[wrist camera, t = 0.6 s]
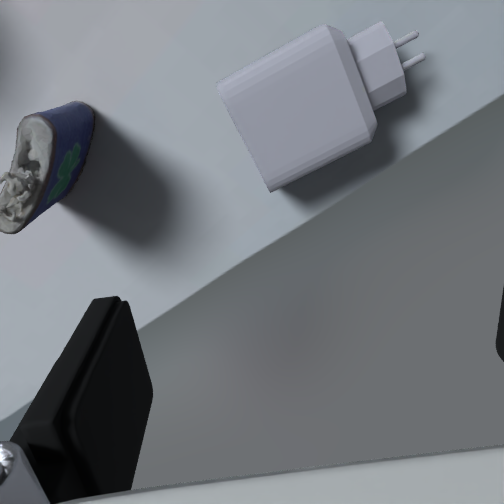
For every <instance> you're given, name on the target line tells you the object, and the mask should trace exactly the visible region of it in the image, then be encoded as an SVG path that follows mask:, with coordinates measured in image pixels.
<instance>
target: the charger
mask: <svg viewBox="0 0 504 504" xmlns="http://www.w3.org/2000/svg"><path fill="white" fill-rule="evenodd" d="M418 35H419V33H418V31H416V30H415V31H413V32H411V33H409V34H407V35H405V36H404V37H402V38H400V39H398V40H396V41H394V42H393V40H392V38H391V36H390V34H389V32H388V30H387V28H386V26H385V25H384V23H383V22H382V21H380V22H378V23H376V24H374V25H373V26H371V27H369V28H367V29H365V30H363V31H362V32H360V33H358V34H356V35H354V36H353V37H351V38H349V39H347V40H346V37H345V35H344V33H343V31H341V30H338V29H336V28H333V27H331V26H328V25H326V24H323V25H320V26H317V27H315V28H313V29H311V30H310V31H308V32H306V33H304V34H302V35H301V36H299V37H297V38H295V39H294V40H292V41H290V42H288V43H286V44H285V45H283V46H281V47H279V48H278V49H276V50H274V51H272V52H270V53H269V54H267V55H265V56H263V57H262V58H260V59H258V60H256V61H254V62H253V63H251V64H249V65H247V66H245V67H244V68H242V69H240V70H238V71H237V72H235V73H233V74H231V75H229V76H228V77H226V78H224V79H222V80H221V81H219V82H217V83H216V88H217V90H218V92H219V94H220V96H221V98H222V100H223V102H224V104H225V106H226V108H227V110H228V112H229V114H230V116H231V118H232V120H233V122H234V124H235V126H236V128H237V130H238V132H239V134H240V135H241V137H242V139H243V141H244V143H245V145H246V147H247V149H248V151H249V153H250V155H251V157H252V159H253V161H254V163H255V165H256V167H257V169H258V170H259V172H260V174H261V176H262V178H263V180H264V182H265V184H266V186H267V188H268V189H269V191H270V193H271V192H273V191H275V190H277V189H279V188H281V187H283V186H285V185H287V184H289V183H291V182H293V181H295V180H297V179H299V178H301V177H303V176H305V175H307V174H309V173H311V172H313V171H315V170H317V169H319V168H321V167H323V166H325V165H327V164H329V163H331V162H333V161H335V160H337V159H339V158H341V157H343V156H345V155H347V154H349V153H351V152H353V151H355V150H357V149H359V148H361V147H363V146H365V145H367V144H369V143H371V141H372V138H373V136H374V133H375V131H376V128H377V126H378V124H377V120H376V117H375V115H374V112H373V111H374V110H376V109H378V108H380V107H382V106H384V105H386V104H388V103H390V102H392V101H394V100H396V99H398V98H400V97H402V96H404V95H405V94H406V91H407V90H406V83H405V76H404V72H403V71H404V70H406V69H408V68H410V67H412V66H414V65H415V64H417V63H419V62H421V61H423V60H425V54H424V53H421V54H419V55H417V56H416V57H414V58H412V59H410V60H408V61H406V62H404V63H402V64H401V63H400V60H399V57H398V54H397V51H396V49H397V48H398V47H400V46H402V45H404V44H406V43H408V42H410V41H412V40H413V39H415V38H417V37H418Z"/></svg>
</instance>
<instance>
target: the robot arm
mask: <svg viewBox="0 0 504 504" xmlns="http://www.w3.org/2000/svg"><path fill="white" fill-rule="evenodd" d="M496 350H497V353H498V355H499V356H500V358H501V359H502V360H503V361H504V288H503V295H502V302H501V309H500V316H499V323H498V330H497V338H496ZM152 398H153V388H152V383H151V379H150V376H149V372H148V369H147V365H146V362H145V358H144V355H143V351H142V348H141V344H140V341H139V337H138V334H137V330H136V327H135V323H134V320H133V316H132V313H131V309H130V306H129V303H128V302H127V301H121V299H120V298H119V297H118V296H113V297H105V298H97V299H94V300H93V301H92V302H91V304H90V306H89V307H88V309H87V311H86V312H85V314H84V316H83V318H82V319H81V321H80V323H79V324H78V326H77V328H76V330H75V331H74V333H73V335H72V336H71V338H70V340H69V342H68V343H67V345H66V347H65V348H64V350H63V352H62V354H61V355H60V357H59V358H58V360H57V361H56V362H55V364H54V366H53V367H52V369H51V371H50V373H49V374H48V376H47V378H46V379H45V381H44V383H43V384H42V386H41V388H40V390H39V391H38V393H37V395H36V396H35V398H34V400H33V402H32V403H31V405H30V407H29V408H28V410H27V412H26V413H25V415H24V417H23V419H22V420H21V422H20V424H19V426H18V427H17V429H16V431H15V432H14V434H13V436H12V437H11V439H10V441H0V504H504V444H503V445H494V446H485V447H476V448H468V449H459V450H451V451H442V452H433V453H426V454H416V455H408V456H399V457H391V458H382V459H374V460H366V461H357V462H349V463H340V464H332V465H323V466H315V467H307V468H299V469H292V470H283V471H276V472H268V473H259V474H250V475H242V476H234V477H226V478H218V479H211V480H202V481H194V482H187V483H178V484H171V485H163V486H155V487H147V488H141V489H134V490H131V487H132V483H133V478H134V474H135V470H136V466H137V462H138V458H139V454H140V450H141V445H142V441H143V437H144V433H145V429H146V425H147V420H148V416H149V412H150V408H151V404H152Z"/></svg>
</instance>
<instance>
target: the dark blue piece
mask: <svg viewBox="0 0 504 504" xmlns="http://www.w3.org/2000/svg"><path fill="white" fill-rule="evenodd" d="M94 125H95V116H94V112H93V111H92V109H91V108H90V107H89V106H88V105H86V104H85V103H83V102H80V101H74V102H70V103H68V104H65V105H63V106H60V107H57V108H54V109H50V110H47V111H44V112H37V113H34V114H31V115H28V116H25V117H24V118H23V119H22V121H21V122H20V124H19V126H18V128H17V140H16V149H15V154H14V157H13V161H12V164H11V168H10V172H5V173H4V174H3V175H2V177H1V178H0V184H1V183H2V182H3V181H4V180H5V181H6V183H5V185H4V187H3V189H2V192H1V194H0V232H3V233H6V234H16V233H18V232H19V231H21V230H22V229H23V228H25V227H26V226H27V225H28V224H29V223H31V222H32V221H33V220H35V219H36V218H37V217H38V216H39V215H40V214H42V213H43V212H45V211H46V210H47V209H49V208H50V207H51V206H52V205H54V204H55V203H56V202H58V201H59V200H61V199H63V198H64V197H65V196H67V194H68V193H69V192H70V191H71V190H72V188H73V187H74V185H75V183H76V182H77V181H78V177H79V176H80V175H81V173H82V171H83V167H84V166H85V163H86V158H87V155H88V151H89V148H90V145H91V140H92V137H93V132H94V127H95V126H94Z"/></svg>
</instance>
